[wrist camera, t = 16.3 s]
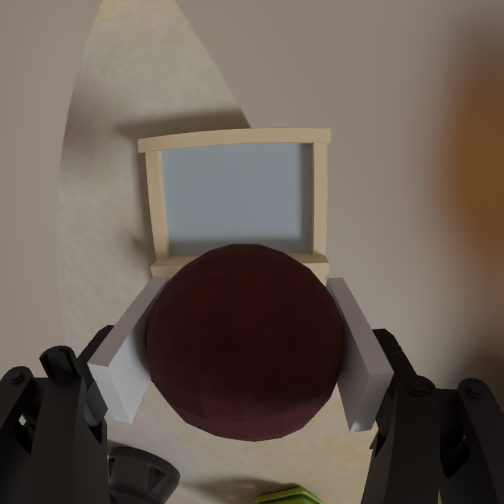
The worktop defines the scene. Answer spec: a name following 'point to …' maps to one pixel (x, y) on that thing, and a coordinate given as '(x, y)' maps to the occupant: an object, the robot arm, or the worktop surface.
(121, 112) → the worktop surface
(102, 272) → the worktop surface
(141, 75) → the worktop surface
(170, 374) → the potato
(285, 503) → the flower pot
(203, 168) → the open tray
